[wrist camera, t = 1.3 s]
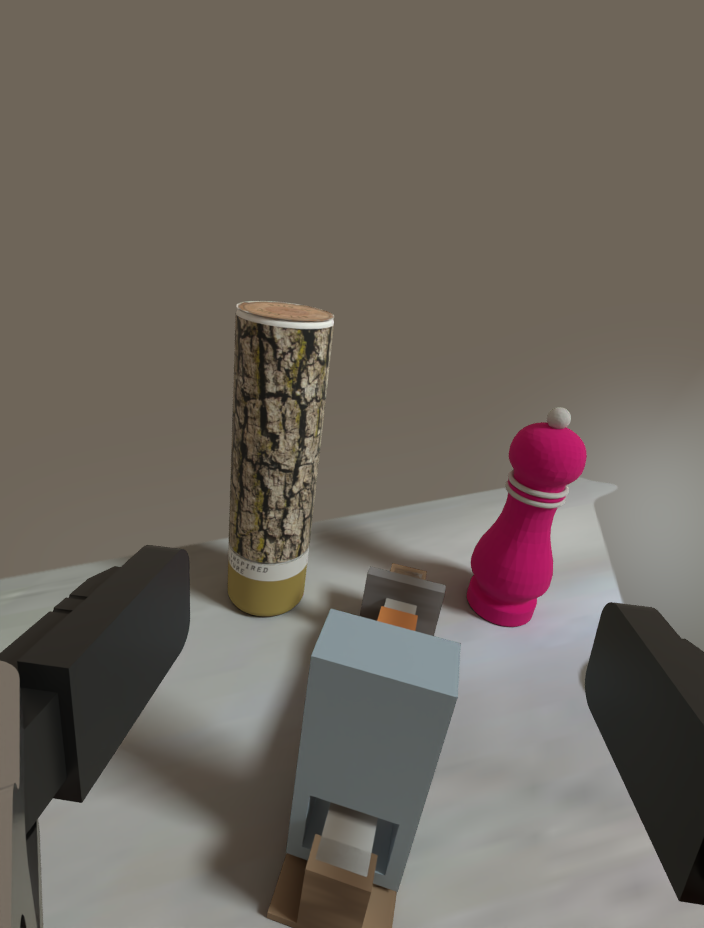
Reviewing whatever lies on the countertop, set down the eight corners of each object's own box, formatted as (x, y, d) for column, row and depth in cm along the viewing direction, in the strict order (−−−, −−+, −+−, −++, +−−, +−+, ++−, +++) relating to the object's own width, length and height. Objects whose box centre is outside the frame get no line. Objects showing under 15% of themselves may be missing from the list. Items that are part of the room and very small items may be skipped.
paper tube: (283, 630, 42) (312, 326, 32) (211, 605, 44) (216, 307, 33) (314, 583, 48) (348, 313, 38) (250, 562, 50) (264, 298, 39)
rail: (266, 917, 25) (276, 834, 22) (367, 605, 46) (378, 541, 43) (386, 962, 24) (412, 881, 21) (432, 622, 45) (448, 558, 42)
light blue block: (285, 852, 27) (311, 655, 21) (303, 797, 30) (330, 608, 24) (397, 891, 26) (457, 697, 20) (405, 831, 29) (460, 643, 23)
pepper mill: (514, 579, 53) (574, 395, 44) (552, 629, 47) (631, 427, 38) (449, 581, 51) (500, 390, 43) (480, 634, 45) (546, 423, 36)
